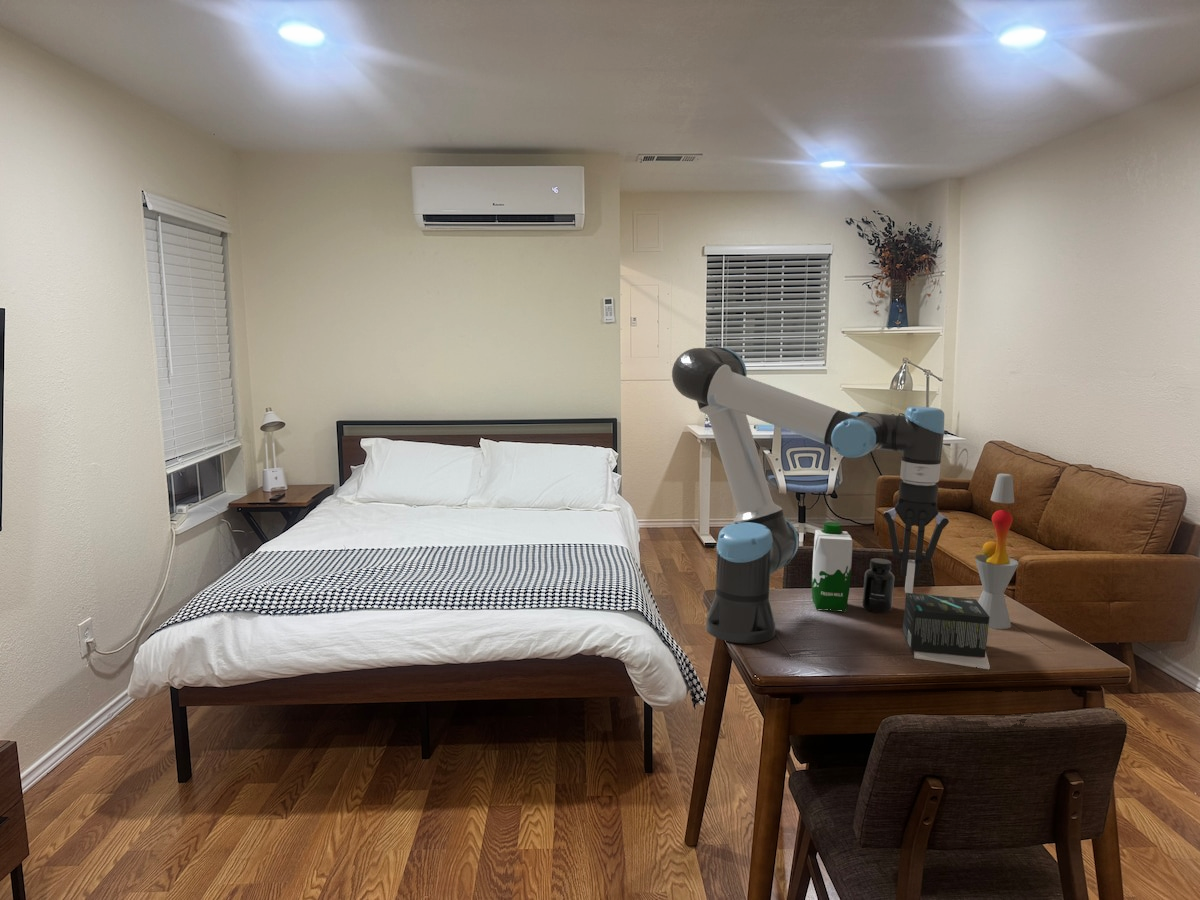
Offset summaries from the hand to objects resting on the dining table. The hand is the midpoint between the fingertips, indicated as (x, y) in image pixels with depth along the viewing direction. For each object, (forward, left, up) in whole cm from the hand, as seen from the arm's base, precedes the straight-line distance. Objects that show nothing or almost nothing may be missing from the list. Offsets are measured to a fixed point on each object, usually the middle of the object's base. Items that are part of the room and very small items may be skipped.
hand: (908, 590), depth 167 cm
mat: (+9, 0, -12) cm, 15 cm away
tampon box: (0, 0, -7) cm, 7 cm away
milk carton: (-17, +19, -12) cm, 28 cm away
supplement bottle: (-6, +22, -12) cm, 26 cm away
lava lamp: (+19, +23, -12) cm, 32 cm away
